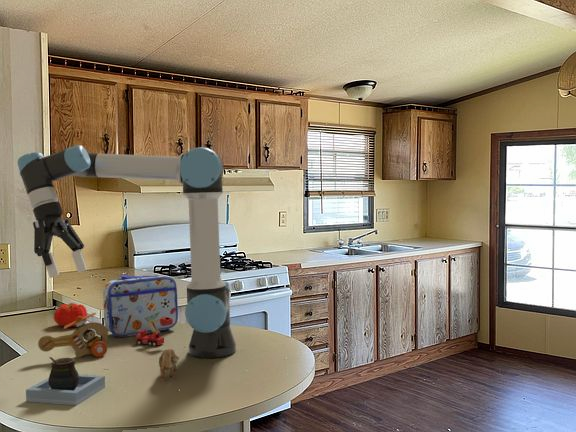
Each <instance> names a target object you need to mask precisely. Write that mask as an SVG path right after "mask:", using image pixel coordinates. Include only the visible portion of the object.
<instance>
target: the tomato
mask: <svg viewBox="0 0 576 432" xmlns="http://www.w3.org/2000/svg"><path fill="white" fill-rule="evenodd" d="M87 315H88V310H87V309H86V306H84V305H83V304H77V303H74V302H70V303H64V304H61V305H60V306H59V307H57V309H56V310H55V312H54V314H53V320H54V321H55V323H56V324H57V325H59V326H61V327H63V328H64V327H65V326H66V325H68V324H70V323H72V322H74V321H76V318H77V317H78V316H82V317H85V316H87ZM71 327H73V328H75V327H76V328H78V327H77V326H76V324H74V325H72V326H71Z"/></svg>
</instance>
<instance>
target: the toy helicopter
mask: <svg viewBox="0 0 576 432" xmlns="http://www.w3.org/2000/svg"><path fill="white" fill-rule="evenodd" d="M96 314H97V312H92V313H89V314H87V316H85V317H82V316H78V317H77V318H76V321H74V322H72V323H70V324H68V325H66V326H65V327H64V326H63V330H66V329H68V328H70V327H73V326H72V325H74V324H76V326H77V327H76V329H75V330H74V331H73V332H72V333H70V334H65V335H60V336H55V337H54V336H51V335H48V334H45V335H43V336H41V337H39V340H38V342H37V345H38V349H39V350H40V351H42V352H50V351H52V350H53V349H54V348H60V347H72V349H74V355H75V356H76V358H78V359H79V358H82V357H83V356H85V355H93V356H94V357H97V358H101V357H103V356H105V355H106V353H107V351H108V345H107V344H106V343H107V341H108V339H109V338H108V337H109V331H108V330H107V328H106V326H105V324H103V323H100V322H96V321H91V322H89V321H88V319H89V318H91V317H93V316H96ZM86 322H87V323H86ZM99 336H100V337H99Z"/></svg>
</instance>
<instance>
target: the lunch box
mask: <svg viewBox="0 0 576 432" xmlns="http://www.w3.org/2000/svg"><path fill="white" fill-rule="evenodd" d="M120 277H121V278H117V279H112V280H109V281H108V282H106V283H105V284H104V286H103V289H102V290H103V291H102V292H103V297H102V299H103V302H102V303H103V320H104V326H105V327H106V328H107V331H108V332H110V333H111V334H112V335H113V336H114V337H117V338H126V337H134V336H136V333H137V332H138V331H140V330H144V329H145V330H146V335H147V334H148V335H149V334H153V332H152V331H151V329H150V328H149V326H148V325H147V323H148V322H149V321H151V320H155V319H160V318H164V317H169V318H172V319H173V324H171V325H168V326H161V324H160V322H158V323H154V324H155V326H156V328H157V330H158V331H159V332H161V331H166V330H169V329H172V328H173V327H175V326H176V324H177V323H178V319H179V309H178V307H179V306H178V303H179V302H178V286H177V283H176V281H175V279H174V278H172V277H170V276H163V275H157V274H156V275H140V276H131V275H126V274H120Z"/></svg>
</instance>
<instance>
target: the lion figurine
mask: <svg viewBox="0 0 576 432" xmlns="http://www.w3.org/2000/svg"><path fill="white" fill-rule="evenodd" d="M158 360H159V361H158V365H159V372H160V379H159V380H160V381H161V382H163V381H165V379H166V377H165V373H167V372H169V374H168V375H169V379H170V380H174V379H175V376H174V371H177V366H176V365H177V364H178V361H179V360H180V357H179V356H177V355H176V353H175V351H174V349H171V348H168V349H164V350H163V351H162V353H161V354H160V356H159V359H158Z"/></svg>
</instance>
